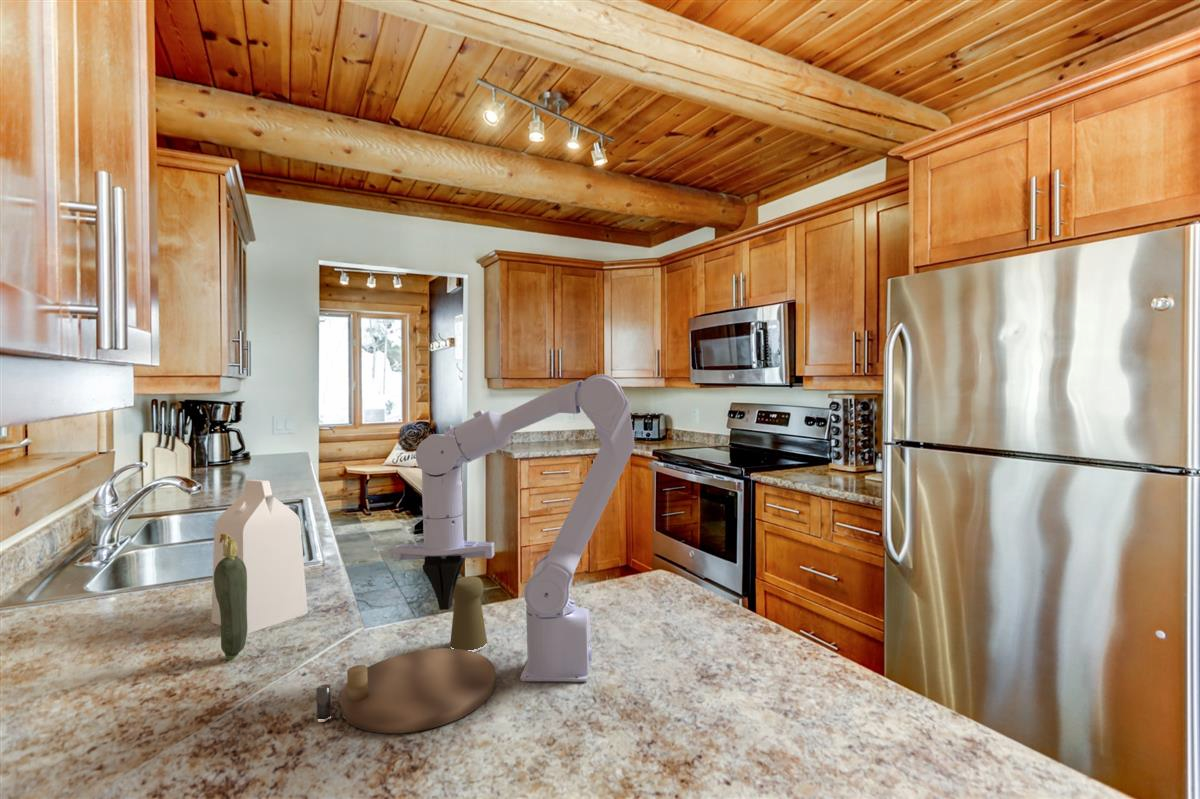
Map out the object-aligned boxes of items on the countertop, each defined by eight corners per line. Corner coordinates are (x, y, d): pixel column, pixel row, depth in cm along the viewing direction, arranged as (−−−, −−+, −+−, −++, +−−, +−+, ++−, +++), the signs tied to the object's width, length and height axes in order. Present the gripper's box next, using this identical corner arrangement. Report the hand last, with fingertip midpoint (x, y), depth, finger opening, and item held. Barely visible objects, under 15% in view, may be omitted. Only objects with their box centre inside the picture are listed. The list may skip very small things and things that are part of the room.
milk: (307, 613, 109) (304, 478, 110) (244, 634, 100) (240, 486, 100) (274, 603, 116) (271, 475, 116) (211, 622, 106) (208, 482, 106)
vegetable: (254, 657, 90) (252, 531, 90) (227, 669, 86) (224, 537, 87) (237, 653, 92) (234, 529, 92) (209, 664, 88) (206, 535, 88)
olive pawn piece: (478, 655, 89) (476, 584, 89) (442, 652, 90) (441, 583, 90) (493, 639, 95) (491, 573, 95) (459, 637, 96) (458, 572, 96)
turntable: (470, 647, 92) (469, 616, 92) (517, 702, 74) (516, 663, 74) (333, 680, 81) (332, 645, 81) (351, 753, 64) (350, 708, 64)
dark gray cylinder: (476, 672, 83) (476, 644, 83) (444, 724, 70) (443, 692, 70) (367, 671, 85) (366, 644, 85) (314, 722, 71) (313, 690, 71)
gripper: (497, 508, 88) (499, 596, 88) (403, 511, 88) (406, 599, 88) (487, 518, 81) (490, 613, 81) (386, 521, 81) (389, 616, 81)
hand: (445, 607), depth 84 cm, fingers closed
